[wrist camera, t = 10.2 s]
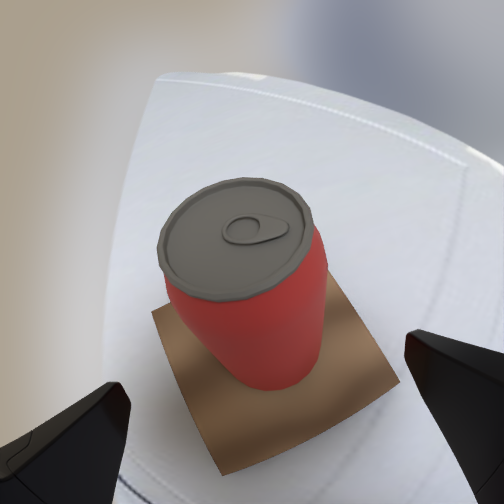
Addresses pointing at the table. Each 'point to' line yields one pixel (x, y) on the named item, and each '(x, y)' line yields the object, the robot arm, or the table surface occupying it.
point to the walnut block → (278, 401)
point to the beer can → (248, 278)
